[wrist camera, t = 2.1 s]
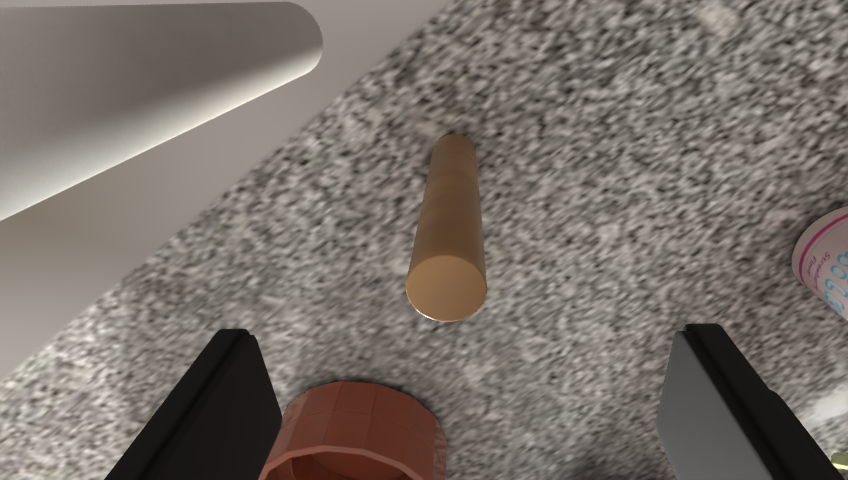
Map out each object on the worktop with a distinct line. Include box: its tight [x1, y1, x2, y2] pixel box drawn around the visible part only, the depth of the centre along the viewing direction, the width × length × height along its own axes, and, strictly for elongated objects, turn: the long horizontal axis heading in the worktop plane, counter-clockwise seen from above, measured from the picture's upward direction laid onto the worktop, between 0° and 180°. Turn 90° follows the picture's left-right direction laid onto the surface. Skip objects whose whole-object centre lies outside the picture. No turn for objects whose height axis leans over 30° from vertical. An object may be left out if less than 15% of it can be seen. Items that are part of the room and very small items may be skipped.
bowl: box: [258, 381, 447, 480], centre depth 34 cm, size 13×13×6 cm
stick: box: [406, 134, 487, 322], centre depth 19 cm, size 2×2×13 cm
